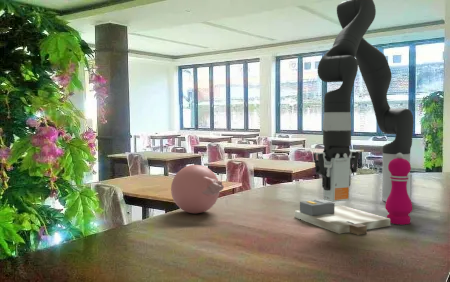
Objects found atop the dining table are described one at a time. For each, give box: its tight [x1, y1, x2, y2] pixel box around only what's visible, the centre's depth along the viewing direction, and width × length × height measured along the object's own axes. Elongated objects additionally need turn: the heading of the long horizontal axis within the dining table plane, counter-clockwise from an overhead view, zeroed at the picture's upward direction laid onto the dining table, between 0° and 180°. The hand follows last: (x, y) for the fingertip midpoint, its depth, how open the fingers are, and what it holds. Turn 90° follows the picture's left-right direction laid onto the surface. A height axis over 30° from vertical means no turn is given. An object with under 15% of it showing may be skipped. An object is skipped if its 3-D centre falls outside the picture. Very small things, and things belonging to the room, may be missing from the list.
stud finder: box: [299, 198, 336, 216], centre depth 124 cm, size 8×6×3 cm
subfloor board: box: [294, 205, 391, 236], centre depth 120 cm, size 18×23×2 cm
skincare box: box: [322, 157, 351, 203], centre depth 117 cm, size 6×4×12 cm
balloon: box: [170, 164, 224, 214], centre depth 132 cm, size 15×20×15 cm
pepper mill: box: [384, 153, 413, 226], centre depth 120 cm, size 7×7×20 cm
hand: (336, 188), depth 117 cm, fingers closed on skincare box, 6 cm apart
